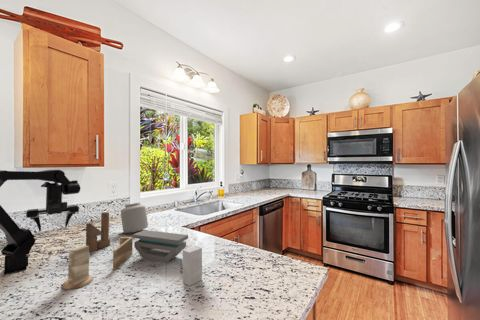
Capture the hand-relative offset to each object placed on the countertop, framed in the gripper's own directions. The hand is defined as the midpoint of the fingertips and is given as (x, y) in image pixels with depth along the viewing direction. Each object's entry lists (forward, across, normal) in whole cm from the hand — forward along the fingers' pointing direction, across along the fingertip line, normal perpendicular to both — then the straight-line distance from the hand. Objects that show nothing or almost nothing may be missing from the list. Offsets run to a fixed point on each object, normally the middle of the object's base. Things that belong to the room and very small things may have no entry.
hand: (53, 229), depth 103 cm
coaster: (+13, +5, -36) cm, 39 cm away
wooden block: (+13, +18, -2) cm, 22 cm away
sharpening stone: (+13, +36, -36) cm, 53 cm away
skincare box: (+13, +36, -64) cm, 75 cm away
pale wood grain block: (+12, +5, -36) cm, 38 cm away
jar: (+13, +41, +16) cm, 46 cm away
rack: (+13, +21, -26) cm, 36 cm away
